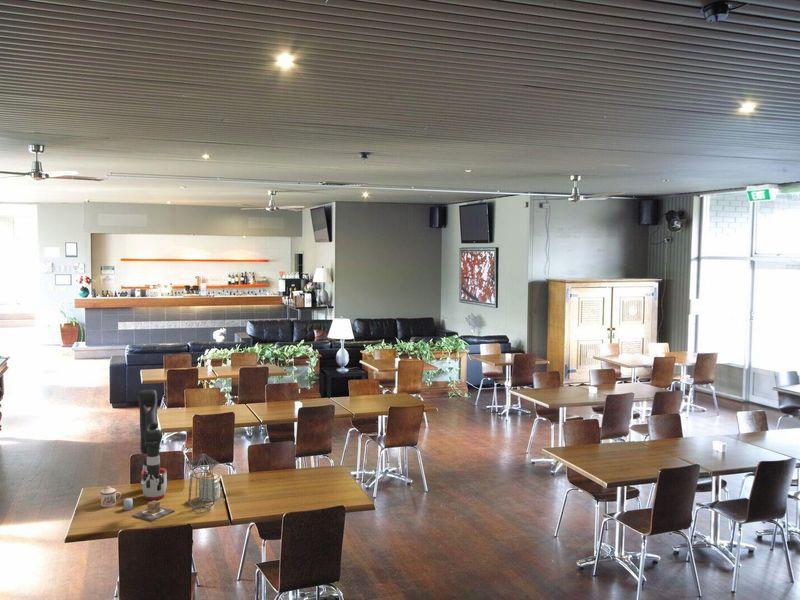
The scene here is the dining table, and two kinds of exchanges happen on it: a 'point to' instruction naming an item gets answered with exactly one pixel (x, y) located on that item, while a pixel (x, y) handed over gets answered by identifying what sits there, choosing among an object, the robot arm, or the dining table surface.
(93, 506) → the dining table surface
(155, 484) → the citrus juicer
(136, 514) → the building board
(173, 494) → the dining table surface
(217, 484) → the jar
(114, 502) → the teacup with lid
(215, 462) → the geometric lantern
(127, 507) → the pale blue rounded ovoid
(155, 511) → the walnut block
